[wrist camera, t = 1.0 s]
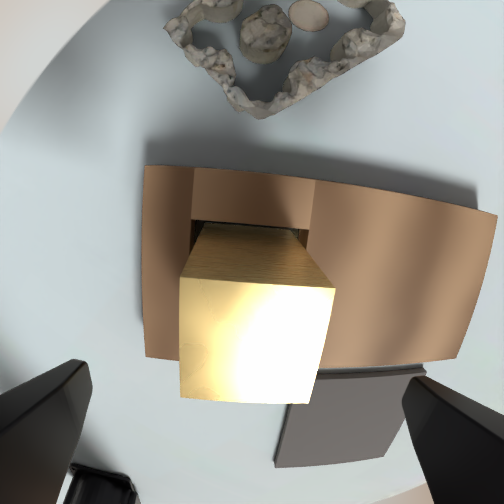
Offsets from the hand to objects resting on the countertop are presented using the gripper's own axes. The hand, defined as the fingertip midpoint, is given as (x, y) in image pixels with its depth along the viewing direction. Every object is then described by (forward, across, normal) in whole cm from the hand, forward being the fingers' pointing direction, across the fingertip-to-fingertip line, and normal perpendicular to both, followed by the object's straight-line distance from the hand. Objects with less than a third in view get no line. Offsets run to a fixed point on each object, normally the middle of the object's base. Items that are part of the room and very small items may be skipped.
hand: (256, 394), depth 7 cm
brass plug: (+10, 0, 0) cm, 10 cm away
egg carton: (+10, -1, -13) cm, 17 cm away
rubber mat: (+10, -9, +12) cm, 18 cm away
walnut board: (+10, -5, 0) cm, 11 cm away
